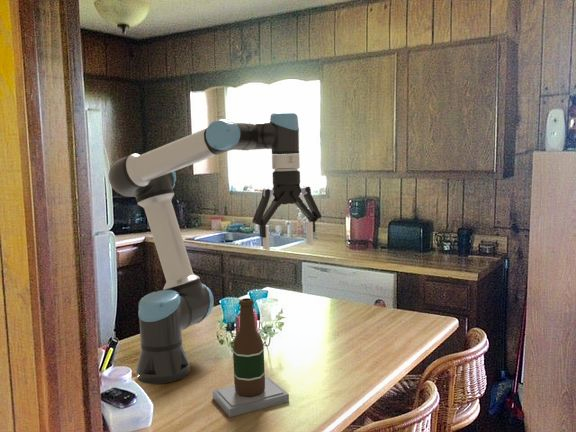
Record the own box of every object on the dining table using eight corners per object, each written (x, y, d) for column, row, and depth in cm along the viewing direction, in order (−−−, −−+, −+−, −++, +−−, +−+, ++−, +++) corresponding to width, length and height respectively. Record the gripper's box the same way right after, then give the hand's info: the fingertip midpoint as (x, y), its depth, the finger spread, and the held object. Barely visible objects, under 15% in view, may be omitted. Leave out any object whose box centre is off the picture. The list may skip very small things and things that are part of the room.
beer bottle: (235, 385, 141) (231, 296, 138) (265, 384, 141) (261, 294, 139) (233, 398, 133) (229, 304, 130) (265, 397, 133) (261, 303, 131)
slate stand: (212, 398, 139) (212, 389, 139) (268, 384, 146) (268, 376, 146) (229, 417, 128) (229, 408, 128) (289, 401, 136) (288, 392, 135)
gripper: (249, 172, 138) (252, 253, 140) (332, 168, 149) (333, 243, 151) (238, 171, 144) (241, 249, 147) (318, 168, 156) (320, 240, 158)
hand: (288, 246), depth 149 cm, fingers open, 13 cm apart
